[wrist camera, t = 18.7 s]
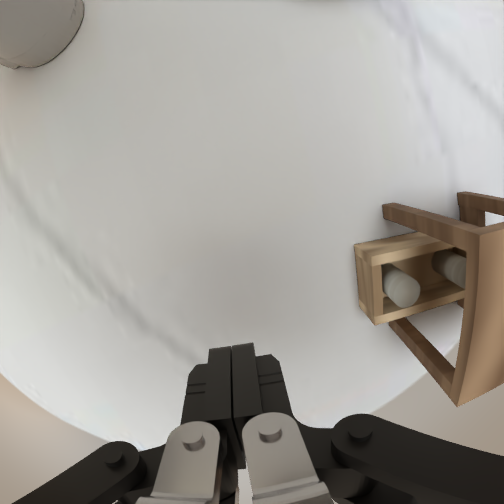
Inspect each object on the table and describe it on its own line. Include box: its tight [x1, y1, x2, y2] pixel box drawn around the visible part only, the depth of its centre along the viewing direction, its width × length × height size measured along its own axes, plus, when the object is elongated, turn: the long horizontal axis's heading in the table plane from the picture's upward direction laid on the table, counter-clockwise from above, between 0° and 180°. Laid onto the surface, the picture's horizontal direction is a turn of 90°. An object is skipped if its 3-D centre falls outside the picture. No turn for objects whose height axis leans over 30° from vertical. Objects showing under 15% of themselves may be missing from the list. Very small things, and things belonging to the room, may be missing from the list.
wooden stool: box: [382, 192, 504, 407], centre depth 21 cm, size 10×12×13 cm
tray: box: [354, 231, 467, 325], centre depth 25 cm, size 11×6×6 cm, turn 101°
